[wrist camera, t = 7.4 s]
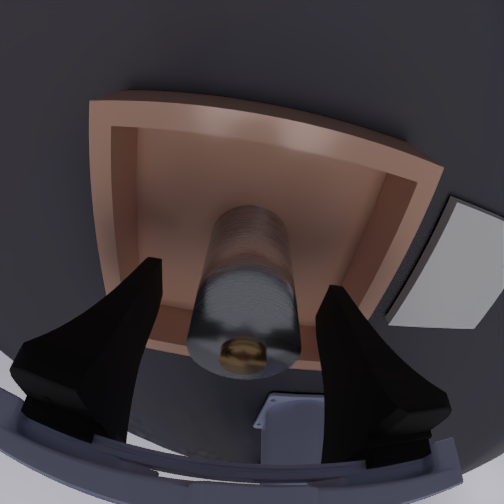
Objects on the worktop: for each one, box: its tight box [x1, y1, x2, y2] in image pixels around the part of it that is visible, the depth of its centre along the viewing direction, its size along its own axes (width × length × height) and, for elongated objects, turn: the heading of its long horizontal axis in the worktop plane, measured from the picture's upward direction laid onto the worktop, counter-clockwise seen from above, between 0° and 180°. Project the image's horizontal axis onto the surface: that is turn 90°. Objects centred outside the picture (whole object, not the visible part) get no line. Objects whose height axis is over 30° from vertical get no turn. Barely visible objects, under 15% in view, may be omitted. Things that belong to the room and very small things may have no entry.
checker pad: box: [386, 196, 504, 329], centre depth 17 cm, size 10×10×1 cm
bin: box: [89, 90, 444, 370], centre depth 15 cm, size 14×14×4 cm
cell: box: [186, 205, 302, 379], centre depth 13 cm, size 4×4×8 cm
